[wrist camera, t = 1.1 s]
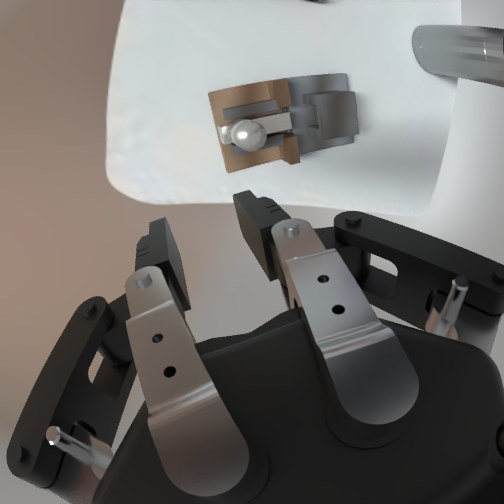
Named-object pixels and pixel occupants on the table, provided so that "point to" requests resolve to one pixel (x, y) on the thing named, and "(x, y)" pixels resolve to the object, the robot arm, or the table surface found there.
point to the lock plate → (301, 113)
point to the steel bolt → (254, 130)
